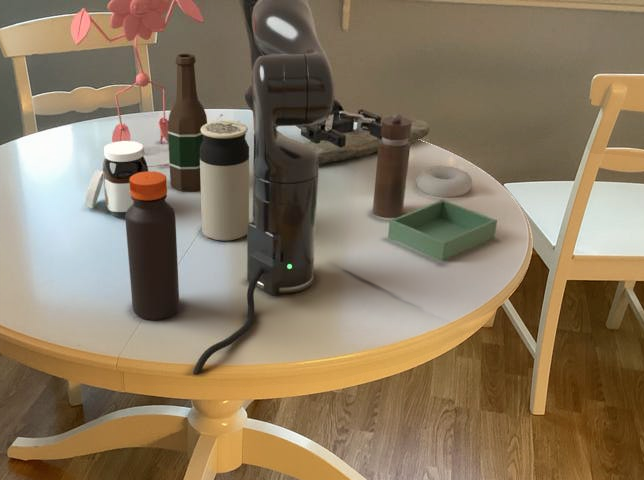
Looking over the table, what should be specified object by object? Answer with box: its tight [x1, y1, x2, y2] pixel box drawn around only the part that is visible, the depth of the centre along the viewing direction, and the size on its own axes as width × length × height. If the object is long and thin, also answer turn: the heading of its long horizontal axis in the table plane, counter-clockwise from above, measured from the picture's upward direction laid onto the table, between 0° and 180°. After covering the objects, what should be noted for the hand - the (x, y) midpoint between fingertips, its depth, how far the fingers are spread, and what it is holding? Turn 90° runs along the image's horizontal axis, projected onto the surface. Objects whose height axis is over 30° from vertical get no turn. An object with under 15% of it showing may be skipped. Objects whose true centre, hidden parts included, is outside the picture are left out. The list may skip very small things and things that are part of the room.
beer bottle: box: [167, 53, 208, 192], centre depth 155 cm, size 8×8×24 cm
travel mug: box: [200, 120, 250, 242], centre depth 139 cm, size 8×8×18 cm
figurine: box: [70, 0, 204, 168], centre depth 166 cm, size 15×26×35 cm, turn 111°
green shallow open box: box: [387, 199, 498, 262], centre depth 138 cm, size 13×11×4 cm
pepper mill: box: [372, 112, 412, 219], centre depth 143 cm, size 5×5×18 cm
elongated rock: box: [302, 112, 430, 165], centre depth 174 cm, size 35×5×10 cm
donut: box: [415, 165, 473, 198], centre depth 156 cm, size 10×3×10 cm
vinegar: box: [124, 170, 180, 321], centre depth 117 cm, size 7×7×20 cm
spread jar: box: [84, 140, 149, 219], centre depth 149 cm, size 12×11×12 cm
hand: (364, 137), depth 148 cm, fingers open, 8 cm apart
